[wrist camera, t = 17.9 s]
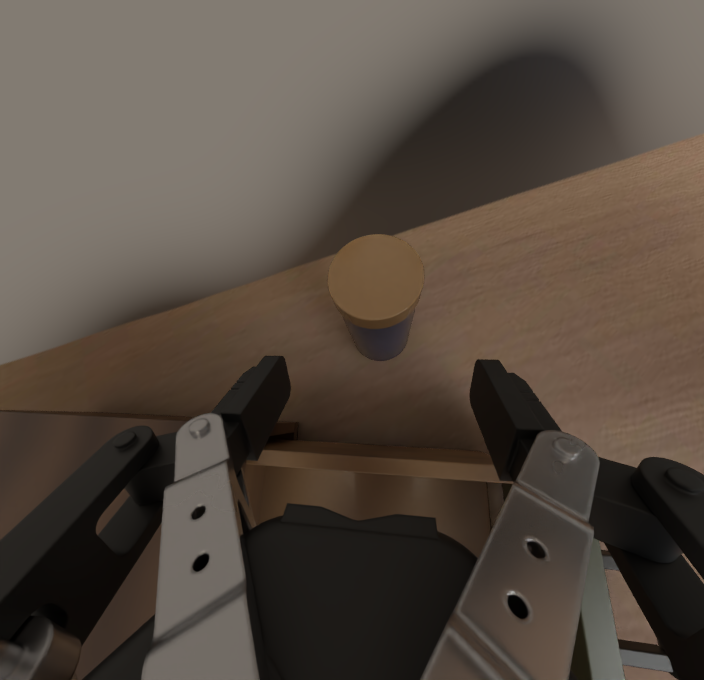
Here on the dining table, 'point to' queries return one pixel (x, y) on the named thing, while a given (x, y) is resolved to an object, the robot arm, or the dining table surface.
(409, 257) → the spice jar
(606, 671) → the drawer
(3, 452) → the cabinet
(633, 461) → the dining table surface
